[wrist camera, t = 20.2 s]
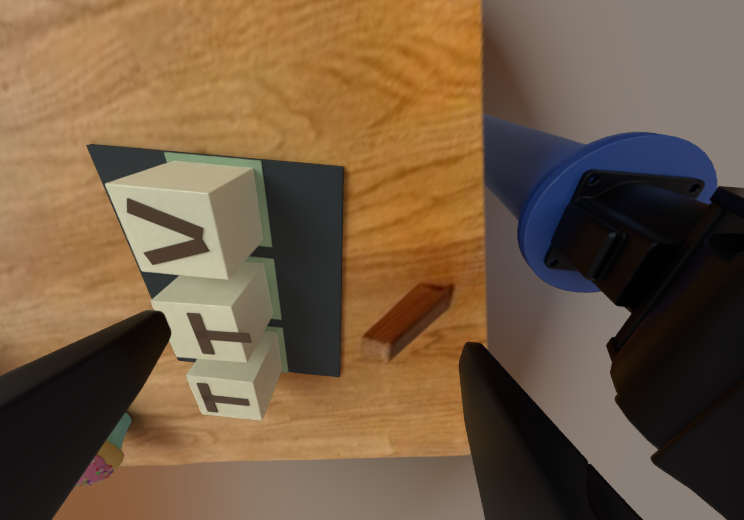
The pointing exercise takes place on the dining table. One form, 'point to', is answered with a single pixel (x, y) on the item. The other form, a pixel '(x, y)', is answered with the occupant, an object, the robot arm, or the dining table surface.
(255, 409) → the alphabet cube
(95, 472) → the cupcake
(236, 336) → the letter t block
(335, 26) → the dining table surface
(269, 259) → the word mat
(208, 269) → the letter v block
